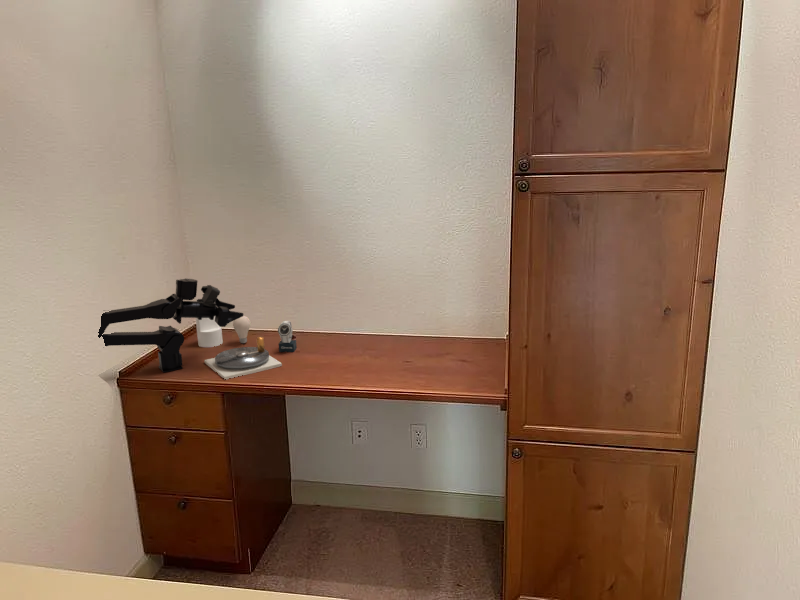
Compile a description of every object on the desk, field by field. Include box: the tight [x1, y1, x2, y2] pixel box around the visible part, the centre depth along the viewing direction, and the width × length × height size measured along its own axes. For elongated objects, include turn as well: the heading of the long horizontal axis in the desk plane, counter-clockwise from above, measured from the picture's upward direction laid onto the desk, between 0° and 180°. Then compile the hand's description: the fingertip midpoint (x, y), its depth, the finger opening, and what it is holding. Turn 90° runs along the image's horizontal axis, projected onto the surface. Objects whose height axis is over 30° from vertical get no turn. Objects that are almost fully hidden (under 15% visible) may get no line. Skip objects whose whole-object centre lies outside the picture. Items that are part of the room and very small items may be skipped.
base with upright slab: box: [195, 316, 224, 348], centre depth 230 cm, size 9×9×12 cm
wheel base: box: [204, 354, 283, 380], centre depth 209 cm, size 20×20×2 cm
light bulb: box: [232, 315, 252, 344], centre depth 230 cm, size 7×7×11 cm
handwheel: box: [214, 336, 270, 369], centre depth 208 cm, size 18×18×6 cm
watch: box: [277, 320, 298, 353], centre depth 221 cm, size 6×8×11 cm
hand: (238, 310), depth 216 cm, fingers open, 9 cm apart
